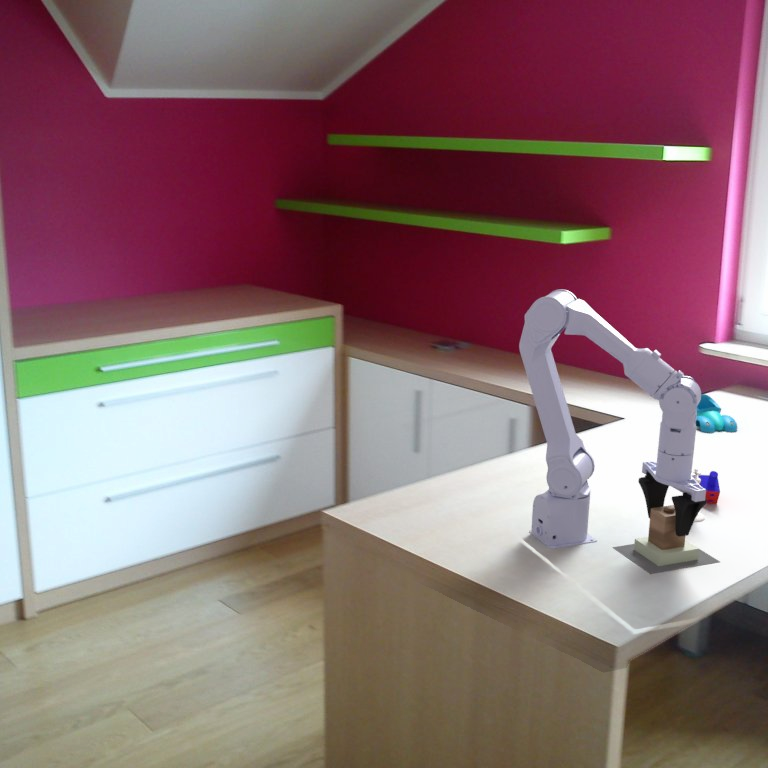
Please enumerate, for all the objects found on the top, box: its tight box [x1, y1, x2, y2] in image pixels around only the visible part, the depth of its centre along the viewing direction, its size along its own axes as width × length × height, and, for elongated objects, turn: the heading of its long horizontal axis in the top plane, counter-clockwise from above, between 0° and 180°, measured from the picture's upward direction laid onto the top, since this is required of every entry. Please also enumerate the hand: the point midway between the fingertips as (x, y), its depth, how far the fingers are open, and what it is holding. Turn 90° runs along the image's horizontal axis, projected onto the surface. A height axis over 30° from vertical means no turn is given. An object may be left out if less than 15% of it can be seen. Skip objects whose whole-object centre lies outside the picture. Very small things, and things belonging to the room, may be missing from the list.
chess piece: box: [692, 468, 706, 523], centre depth 184 cm, size 5×5×10 cm
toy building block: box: [697, 470, 721, 505], centre depth 194 cm, size 4×4×8 cm
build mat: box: [612, 543, 721, 575], centre depth 169 cm, size 14×11×1 cm
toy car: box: [696, 393, 738, 434], centre depth 246 cm, size 11×18×7 cm, turn 9°
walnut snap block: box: [647, 504, 686, 550], centre depth 167 cm, size 4×4×6 cm
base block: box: [633, 536, 700, 566], centre depth 169 cm, size 8×7×2 cm
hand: (668, 526), depth 168 cm, fingers open, 7 cm apart
